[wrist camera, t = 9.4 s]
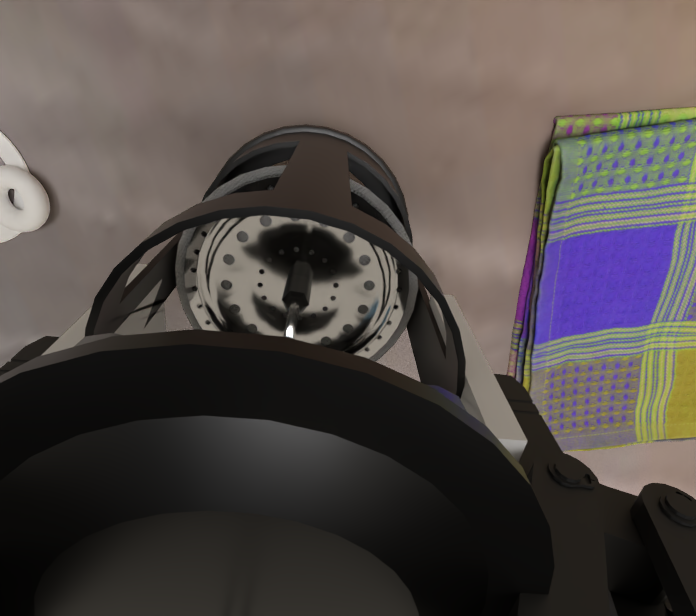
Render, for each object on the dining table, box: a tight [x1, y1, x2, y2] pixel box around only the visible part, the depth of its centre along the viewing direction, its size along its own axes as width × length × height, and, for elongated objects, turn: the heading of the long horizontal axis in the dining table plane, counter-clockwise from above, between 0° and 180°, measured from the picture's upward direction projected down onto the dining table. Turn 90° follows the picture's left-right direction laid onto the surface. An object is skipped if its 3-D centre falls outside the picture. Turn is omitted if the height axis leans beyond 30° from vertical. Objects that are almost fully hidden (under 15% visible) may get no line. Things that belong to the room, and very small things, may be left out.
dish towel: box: [507, 107, 696, 452], centre depth 29 cm, size 18×24×3 cm
